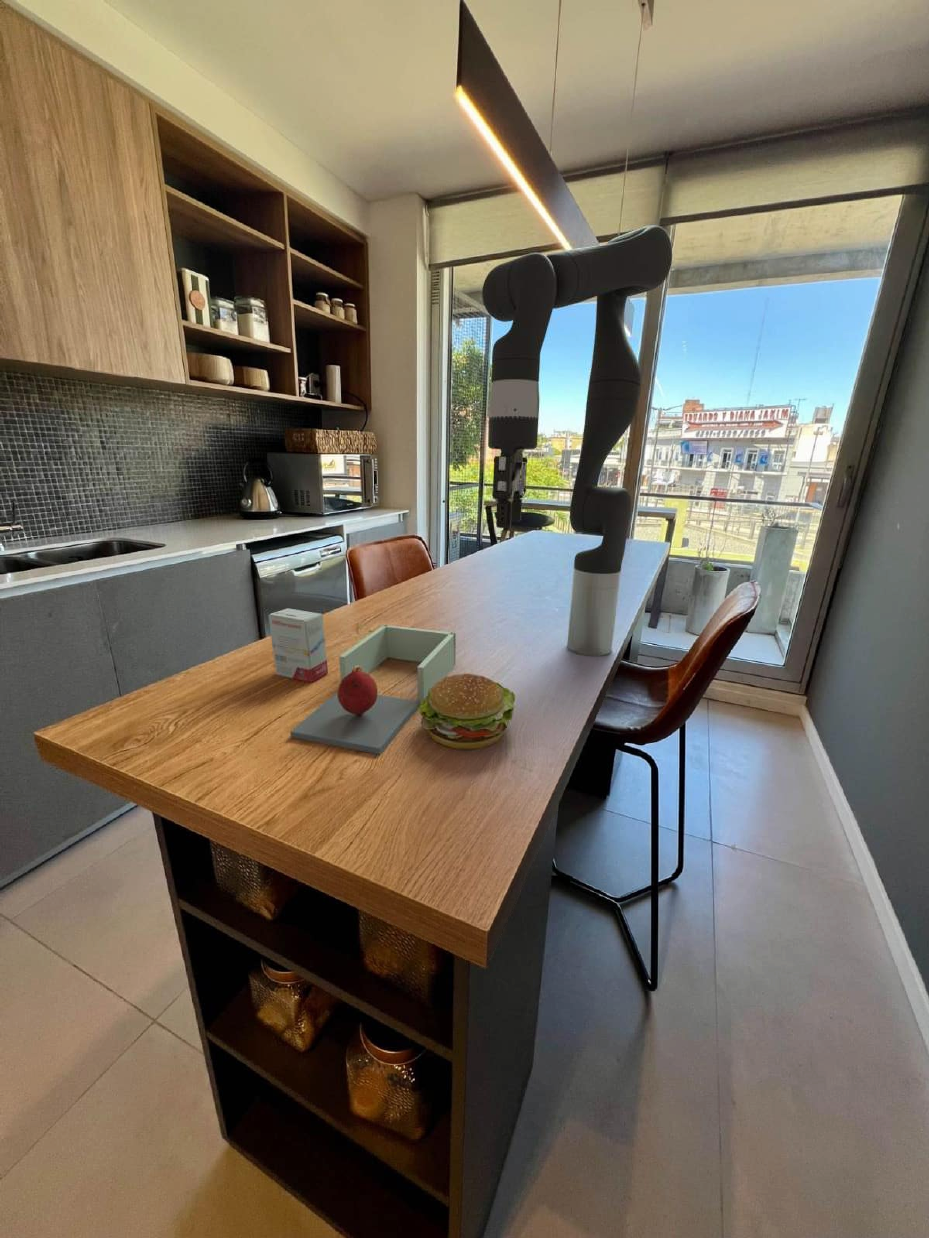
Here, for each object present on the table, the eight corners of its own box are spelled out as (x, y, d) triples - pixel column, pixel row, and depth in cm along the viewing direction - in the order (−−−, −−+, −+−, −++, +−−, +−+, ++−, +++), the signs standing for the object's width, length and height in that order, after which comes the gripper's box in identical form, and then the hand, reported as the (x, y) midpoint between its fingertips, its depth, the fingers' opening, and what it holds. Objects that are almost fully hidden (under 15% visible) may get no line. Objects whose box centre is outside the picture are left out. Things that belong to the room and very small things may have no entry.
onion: (369, 727, 71) (367, 676, 68) (332, 722, 72) (328, 673, 69) (383, 708, 76) (381, 660, 74) (349, 704, 77) (345, 657, 75)
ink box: (329, 673, 90) (324, 612, 87) (311, 684, 86) (305, 620, 82) (293, 665, 94) (287, 606, 90) (274, 674, 90) (267, 613, 86)
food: (487, 769, 63) (488, 715, 61) (402, 737, 70) (401, 687, 68) (532, 723, 74) (534, 675, 72) (455, 699, 81) (455, 655, 79)
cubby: (384, 655, 99) (383, 624, 97) (455, 664, 95) (455, 633, 93) (341, 691, 83) (339, 656, 81) (423, 704, 79) (423, 667, 77)
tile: (341, 694, 82) (341, 689, 82) (418, 706, 79) (418, 701, 78) (290, 737, 70) (290, 731, 69) (380, 754, 66) (380, 748, 66)
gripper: (530, 411, 66) (524, 531, 71) (544, 419, 79) (538, 520, 84) (477, 412, 68) (475, 529, 73) (499, 419, 81) (496, 518, 86)
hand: (509, 524), depth 79 cm, fingers open, 8 cm apart
